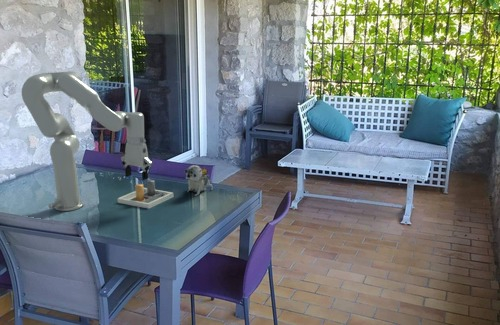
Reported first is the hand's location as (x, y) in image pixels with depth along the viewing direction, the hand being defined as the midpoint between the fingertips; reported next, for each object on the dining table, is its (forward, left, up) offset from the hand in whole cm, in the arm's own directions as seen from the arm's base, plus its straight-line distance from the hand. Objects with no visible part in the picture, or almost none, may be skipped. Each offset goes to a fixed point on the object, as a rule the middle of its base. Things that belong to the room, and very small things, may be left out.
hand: (136, 177), depth 220 cm
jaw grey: (+8, -1, -12) cm, 14 cm away
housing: (+4, -1, -13) cm, 13 cm away
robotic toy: (+25, -16, -13) cm, 33 cm away
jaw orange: (+1, -1, -12) cm, 12 cm away
